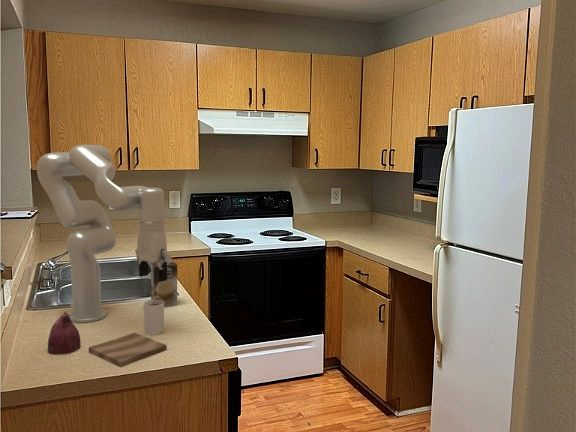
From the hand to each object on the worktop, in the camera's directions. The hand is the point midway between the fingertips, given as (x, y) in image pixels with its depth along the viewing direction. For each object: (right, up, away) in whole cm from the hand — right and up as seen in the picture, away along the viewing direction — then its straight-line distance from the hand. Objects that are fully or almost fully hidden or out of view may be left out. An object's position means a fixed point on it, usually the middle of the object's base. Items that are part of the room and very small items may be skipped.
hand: (153, 278), depth 168 cm
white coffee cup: (0, -18, +3) cm, 18 cm away
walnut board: (-4, -20, -13) cm, 24 cm away
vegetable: (-24, -20, -12) cm, 33 cm away
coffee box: (-4, -14, +32) cm, 35 cm away
